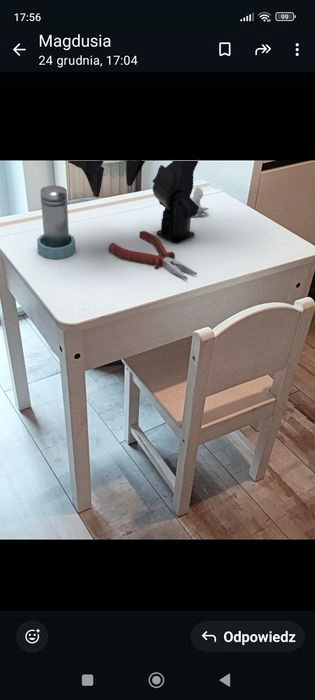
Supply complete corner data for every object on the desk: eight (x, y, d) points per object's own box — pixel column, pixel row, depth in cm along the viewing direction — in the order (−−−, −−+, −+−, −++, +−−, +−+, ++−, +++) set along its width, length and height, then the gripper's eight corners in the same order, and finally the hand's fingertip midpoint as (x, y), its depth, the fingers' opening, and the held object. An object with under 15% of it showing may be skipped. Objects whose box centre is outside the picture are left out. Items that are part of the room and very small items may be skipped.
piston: (53, 240, 125) (49, 183, 117) (74, 246, 123) (71, 189, 115) (39, 250, 121) (34, 192, 113) (61, 256, 119) (57, 198, 111)
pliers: (172, 291, 113) (173, 280, 111) (105, 253, 124) (105, 242, 122) (209, 272, 120) (211, 261, 118) (143, 238, 130) (143, 227, 129)
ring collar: (59, 238, 127) (58, 228, 125) (82, 251, 123) (82, 241, 121) (30, 249, 122) (29, 239, 121) (53, 262, 118) (52, 252, 117)
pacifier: (189, 220, 138) (210, 216, 140) (191, 196, 134) (212, 192, 136) (174, 208, 143) (195, 204, 145) (175, 185, 139) (196, 181, 141)
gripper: (120, 94, 117) (119, 169, 126) (47, 109, 106) (52, 190, 115) (159, 107, 111) (155, 184, 121) (86, 125, 100) (88, 208, 110)
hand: (113, 191), depth 117 cm, fingers open, 9 cm apart
